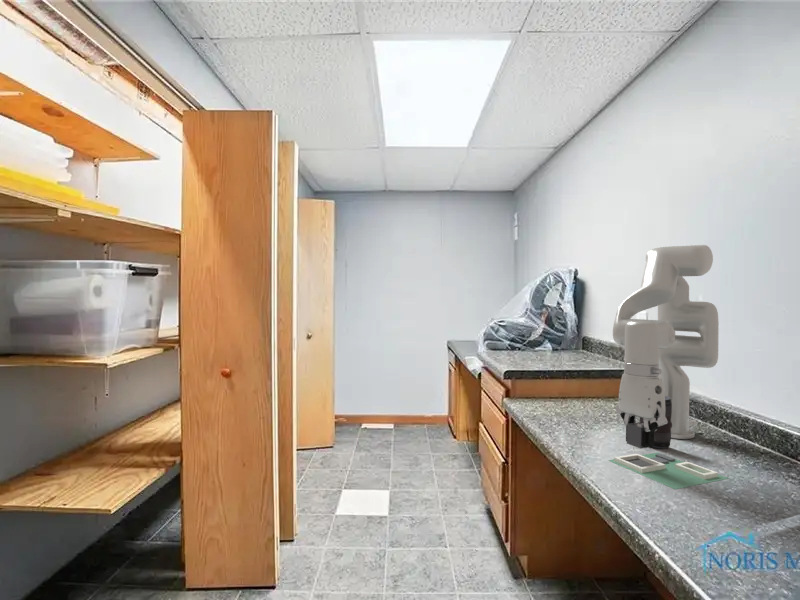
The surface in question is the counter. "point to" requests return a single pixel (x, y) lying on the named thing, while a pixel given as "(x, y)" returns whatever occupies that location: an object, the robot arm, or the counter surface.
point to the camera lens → (663, 428)
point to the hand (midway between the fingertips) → (639, 443)
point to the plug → (635, 434)
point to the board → (667, 470)
